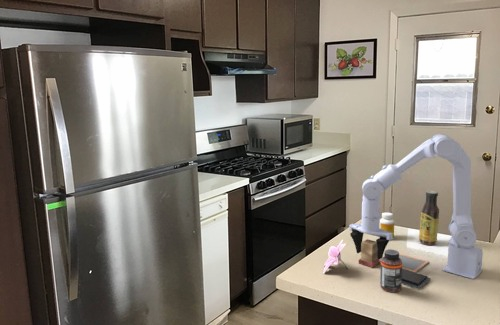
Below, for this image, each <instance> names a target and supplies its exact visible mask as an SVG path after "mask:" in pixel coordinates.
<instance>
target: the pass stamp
mask: <svg viewBox="0 0 500 325" xmlns="http://www.w3.org/2000/svg"><path fill="white" fill-rule="evenodd" d="M377 252H378V249H377V242H376V240H373V239H372V240H371V239H368V238H367V239H365V240H364V241H363V240H362V242H361V252H360V258H359V259H358V264H359V265H362V266H364V267H367V268H371V269H373V268H375V267H376V266H378V265H380V264H381V259H378V258H377Z"/></svg>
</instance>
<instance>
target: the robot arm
mask: <svg viewBox="0 0 500 325" xmlns="http://www.w3.org/2000/svg"><path fill="white" fill-rule="evenodd" d="M435 155H437V157H439V158H442V159H444V160H447V161H448V162H450V163H451V164H452V204H453V205H452V206H453V207H452V211H453V213H451V221H450V223H449V224H448V232H449V234H450V235H451V237H450V238H449V240H448V250H447V251H448V252H447V265H445V266H444V267H442V269H441V270H442V271H443V272H447V273H450V274H454V275H458V276H461V277H464V278H465V277H466V278H469V279H472V280H474V279H476V278H477V276H479V275H480V274H481V273H482V272H483V269H482V268H483V267H482V266H483V257H484V256H483V254H484V253H483V249H482V248H481V247H478V246H476V245H475V244H476V242H477V238H478V236H477V233H476V232H475V230H474V222H473V219H472V206H471V205H472V202H471V201H472V198H471V197H472V183H471V182H472V166H471V165H472V160H471V157H470V156H469V155H468V153H467V152H466V151H465V149H464V147H462V145H461V143H460V142H458V141H457V140H455V139H454V138H452V137H450V136H449V135H447V134H445V133H437V134H435V135H433V136H432V137H431V138H429V139H427V140H425V141H424V142H422V143H420V145H418V147H416V148H414V150H412V151H411V152H410V153H408V154H407V155H406V156H404V158H402V159H401V160H400V161H398V162H397V163H395V164H391V163H390V164H388V165H386V164H384V165H383V166H382V169H381V170H380V171H379V172H377V173H376V174H375V175H373V174H372V175H371V176H370V178H367V179H366V180H364V181H363V183H362V186H361V191H362V202H361V223H360V224H356V223H351V224H349V227H348V229H349V231H351V232H350V234H349V235H350V237H351V239H352V241H353V244H354V247H355V251H356V254H361V242H363V238H364V234H366V235H370V236H375V237H378V238H377V239H375V241H376V242H377V249H378V252H377V258H378V259H380V260H381V259H382V258H383V257H384V254H385V250H386V247H387V246H388V244H389V242H390V241H392V240H393V239H392V233H390V232H387V231H385V230H383V229H380V219H381V216H380V215H381V202H380V198H381V195H382V192H383V191H386V190H388V189H389V188H390V187H392V186H393V185H394V184H396V183H397V182H398V181H400V180H401V179H402V175H403V173H404V172H406V171H408V170H409V169H410V168H411V167H414V165H416V164H417V163H419V162H421V161H422V160H424V159H435V158H436V156H435ZM391 239H392V240H391Z"/></svg>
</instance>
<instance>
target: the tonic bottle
mask: <svg viewBox="0 0 500 325" xmlns="http://www.w3.org/2000/svg"><path fill="white" fill-rule="evenodd" d="M438 196H439V192H438V191H436V190H431V189H430V190H426V191H425V202H424V204H423V207H422V209H421V211H420V220H419V233H418V242H419V243H420V244H423V245H426V246H433V245H436V244H437V240H438V231H439V229H438V228H439V221H440V220H439V219H440V217H439V216H440V209H439V207H438V204H437V203H438V202H437V201H438Z"/></svg>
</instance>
